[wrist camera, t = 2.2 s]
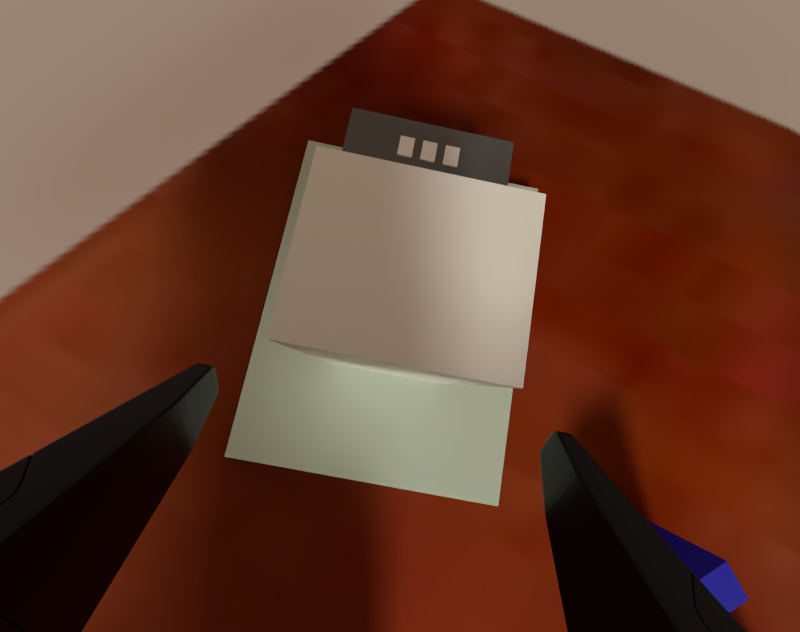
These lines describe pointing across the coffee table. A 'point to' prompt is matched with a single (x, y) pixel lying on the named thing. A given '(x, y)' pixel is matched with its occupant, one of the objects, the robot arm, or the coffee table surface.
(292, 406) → the board
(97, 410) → the coffee table surface
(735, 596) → the cable clip
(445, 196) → the plug housing
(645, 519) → the robot arm
